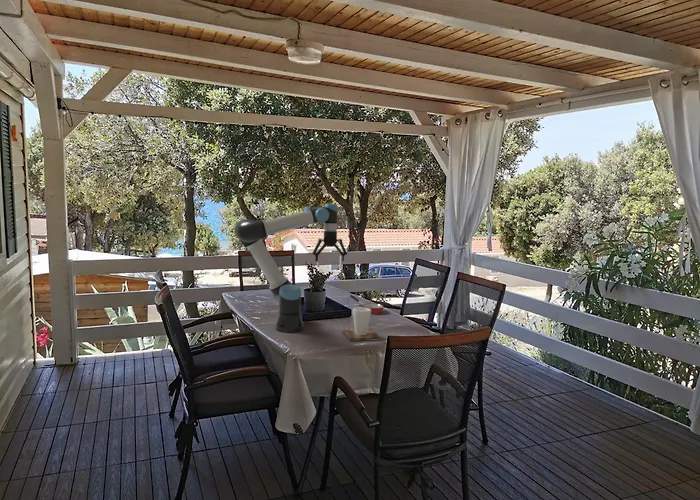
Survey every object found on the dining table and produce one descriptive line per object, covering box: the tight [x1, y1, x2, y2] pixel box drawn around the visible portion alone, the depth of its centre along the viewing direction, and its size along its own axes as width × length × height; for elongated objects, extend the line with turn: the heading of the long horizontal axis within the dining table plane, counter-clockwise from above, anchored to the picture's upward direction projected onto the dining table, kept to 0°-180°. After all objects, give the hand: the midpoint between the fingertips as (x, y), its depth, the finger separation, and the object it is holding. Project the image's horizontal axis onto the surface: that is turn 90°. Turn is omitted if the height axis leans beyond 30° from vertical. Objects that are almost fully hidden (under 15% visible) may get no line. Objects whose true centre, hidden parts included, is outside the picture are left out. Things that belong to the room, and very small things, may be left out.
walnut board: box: [342, 328, 381, 342], centre depth 256 cm, size 16×15×2 cm
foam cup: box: [352, 306, 372, 335], centre depth 256 cm, size 10×9×13 cm
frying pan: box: [349, 294, 384, 316], centre depth 317 cm, size 32×13×6 cm, turn 39°
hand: (329, 266), depth 283 cm, fingers open, 13 cm apart
